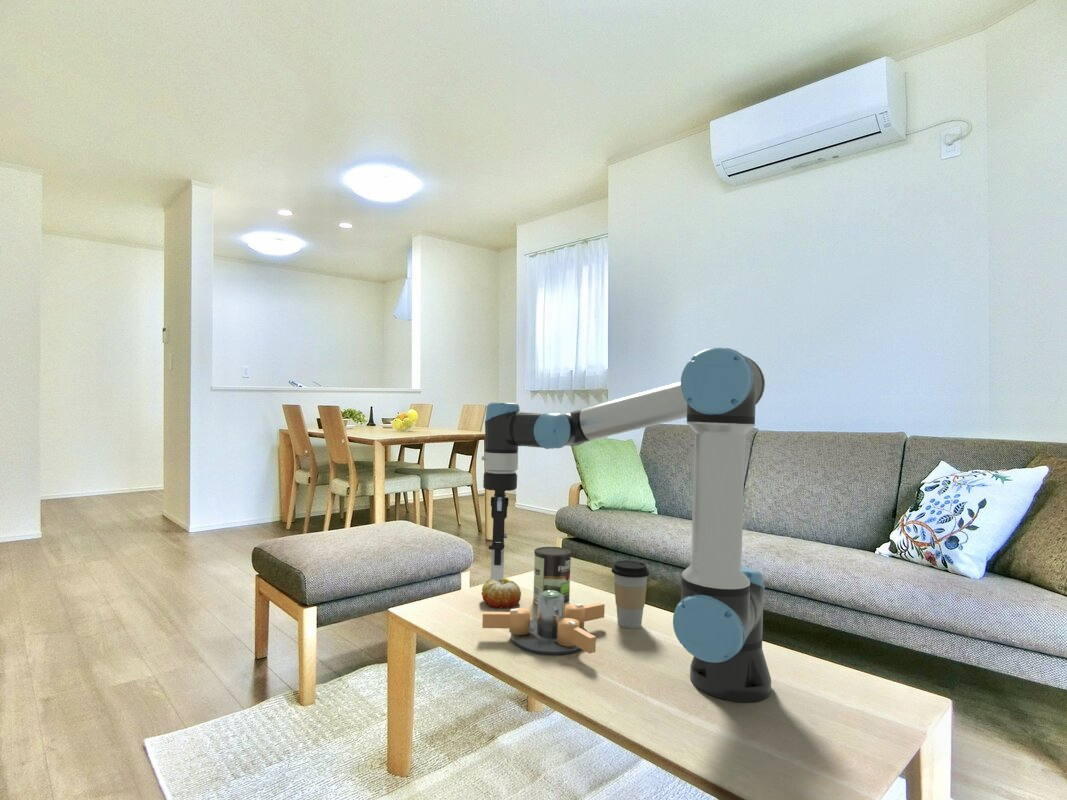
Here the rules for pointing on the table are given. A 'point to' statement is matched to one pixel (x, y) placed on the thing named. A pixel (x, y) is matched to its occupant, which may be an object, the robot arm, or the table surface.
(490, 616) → the knob
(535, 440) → the robot arm
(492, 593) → the fruit
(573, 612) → the knob
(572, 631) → the knob
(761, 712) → the table surface
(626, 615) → the coffee cup
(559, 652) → the base
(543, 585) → the coffee can
